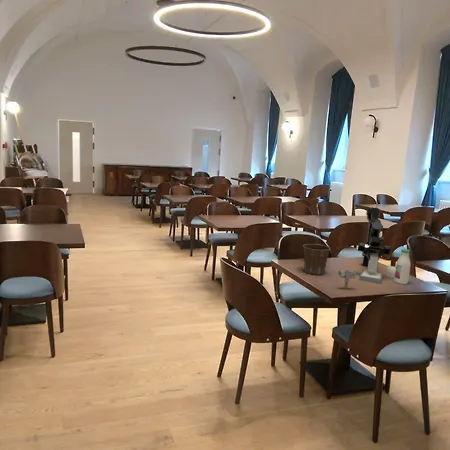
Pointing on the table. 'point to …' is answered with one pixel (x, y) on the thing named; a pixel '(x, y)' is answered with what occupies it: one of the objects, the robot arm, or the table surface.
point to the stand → (371, 276)
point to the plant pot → (315, 258)
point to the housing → (373, 262)
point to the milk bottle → (403, 267)
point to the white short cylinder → (391, 271)
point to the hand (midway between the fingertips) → (373, 260)
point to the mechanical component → (347, 276)
